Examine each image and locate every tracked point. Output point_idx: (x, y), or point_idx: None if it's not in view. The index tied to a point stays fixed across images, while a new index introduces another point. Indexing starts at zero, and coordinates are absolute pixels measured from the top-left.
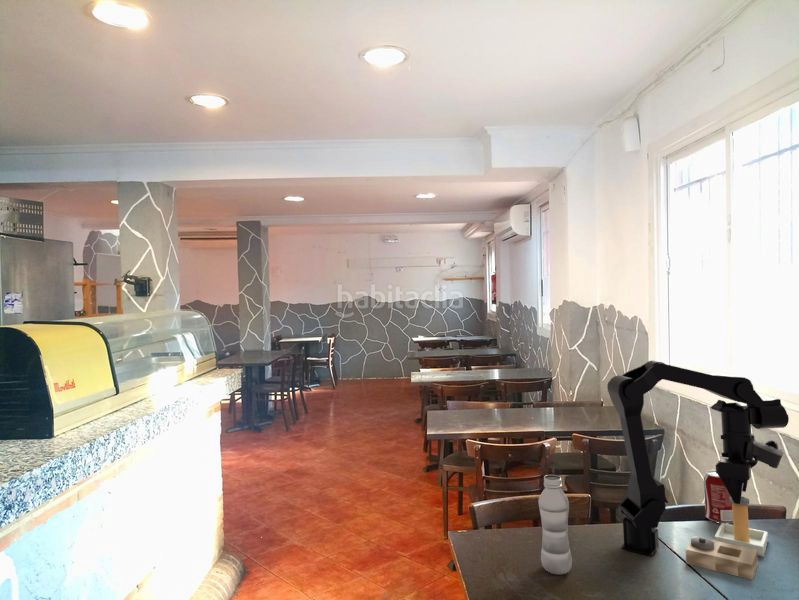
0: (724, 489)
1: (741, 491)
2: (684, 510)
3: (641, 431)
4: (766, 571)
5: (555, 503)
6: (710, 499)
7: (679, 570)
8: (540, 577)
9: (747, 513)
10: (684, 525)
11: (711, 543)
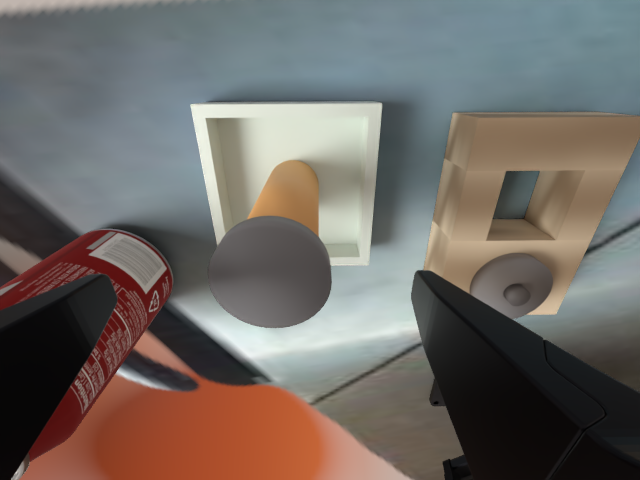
0: None
1: (539, 338)
2: (137, 354)
3: None
4: (505, 76)
5: None
6: (131, 347)
7: (578, 290)
8: None
9: (285, 203)
10: (255, 334)
11: (520, 267)
